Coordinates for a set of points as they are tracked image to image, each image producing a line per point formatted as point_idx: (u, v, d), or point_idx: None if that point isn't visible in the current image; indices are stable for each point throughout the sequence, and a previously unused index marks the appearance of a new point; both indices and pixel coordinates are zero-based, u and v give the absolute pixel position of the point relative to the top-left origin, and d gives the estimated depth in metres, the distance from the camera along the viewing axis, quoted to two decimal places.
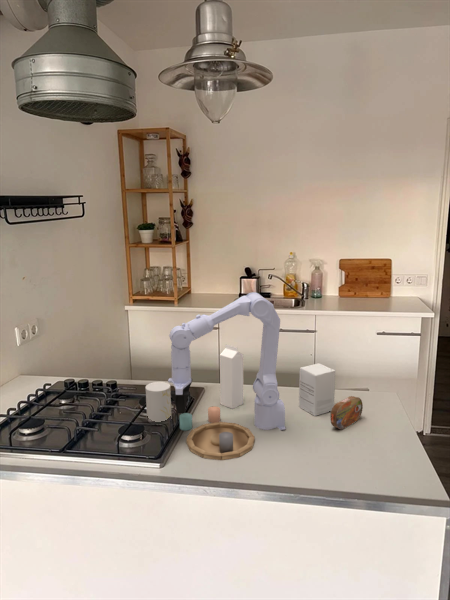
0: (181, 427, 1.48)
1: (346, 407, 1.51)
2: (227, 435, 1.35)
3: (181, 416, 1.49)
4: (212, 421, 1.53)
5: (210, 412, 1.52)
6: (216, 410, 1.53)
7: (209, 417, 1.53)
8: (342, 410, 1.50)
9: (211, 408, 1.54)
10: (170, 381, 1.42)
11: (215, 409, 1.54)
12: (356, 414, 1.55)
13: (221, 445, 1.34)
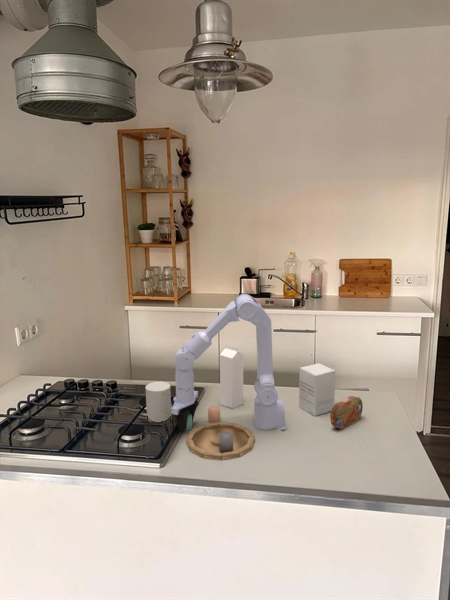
0: None
1: (346, 407, 1.51)
2: (227, 435, 1.35)
3: None
4: (212, 421, 1.53)
5: (210, 412, 1.52)
6: (216, 410, 1.53)
7: (209, 417, 1.53)
8: (342, 410, 1.50)
9: (211, 408, 1.54)
10: (174, 399, 1.48)
11: (215, 409, 1.54)
12: (356, 414, 1.55)
13: (221, 445, 1.34)
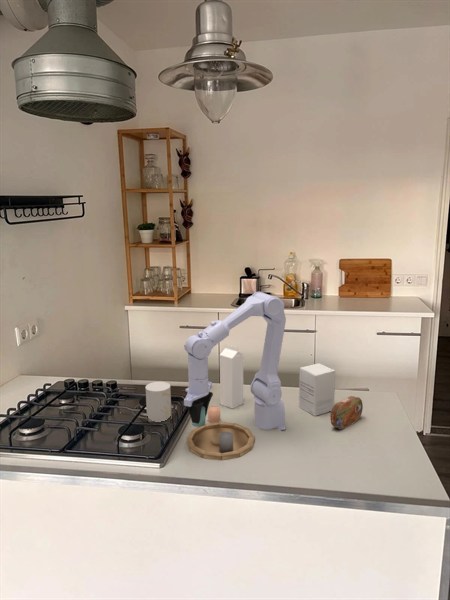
0: None
1: (346, 407, 1.51)
2: (227, 435, 1.35)
3: None
4: (212, 421, 1.53)
5: (210, 412, 1.52)
6: (216, 410, 1.53)
7: (209, 417, 1.53)
8: (342, 410, 1.50)
9: (211, 408, 1.54)
10: (187, 390, 1.38)
11: (215, 409, 1.54)
12: (356, 414, 1.55)
13: (221, 445, 1.34)
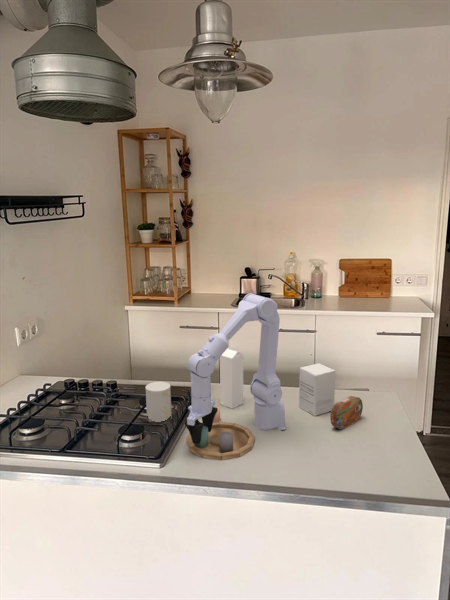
0: None
1: (346, 407, 1.51)
2: (227, 435, 1.35)
3: None
4: None
5: None
6: None
7: None
8: (342, 410, 1.50)
9: None
10: (189, 408, 1.37)
11: None
12: (356, 414, 1.55)
13: (221, 445, 1.34)
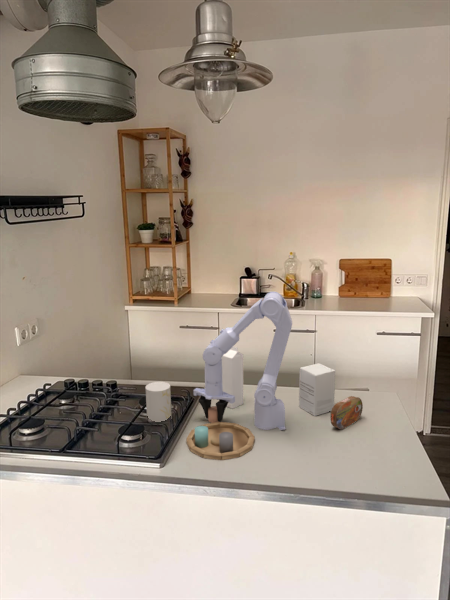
0: (196, 441, 1.38)
1: (346, 407, 1.51)
2: (227, 435, 1.35)
3: (196, 429, 1.38)
4: (212, 421, 1.53)
5: (210, 412, 1.52)
6: (216, 410, 1.53)
7: (209, 417, 1.53)
8: (342, 410, 1.50)
9: (211, 408, 1.54)
10: (211, 398, 1.50)
11: (215, 409, 1.54)
12: (356, 414, 1.55)
13: (221, 445, 1.34)
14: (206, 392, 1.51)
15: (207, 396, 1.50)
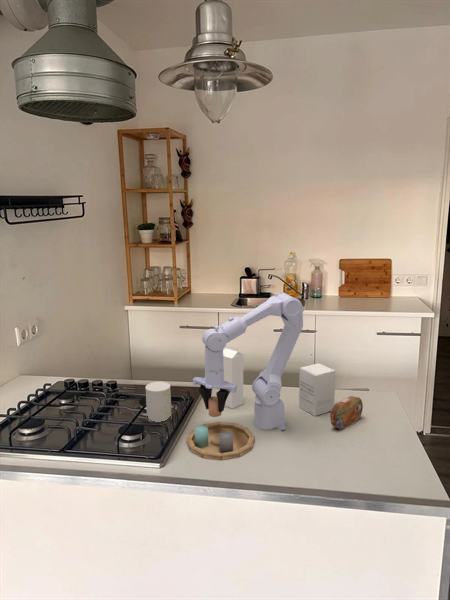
0: (196, 441, 1.38)
1: (346, 407, 1.51)
2: (227, 435, 1.35)
3: (196, 429, 1.38)
4: (213, 412, 1.44)
5: (211, 402, 1.43)
6: (217, 400, 1.44)
7: (210, 408, 1.44)
8: (342, 410, 1.50)
9: (211, 398, 1.45)
10: (212, 387, 1.40)
11: (216, 399, 1.45)
12: (356, 414, 1.55)
13: (221, 445, 1.34)
14: (206, 381, 1.42)
15: (207, 385, 1.41)
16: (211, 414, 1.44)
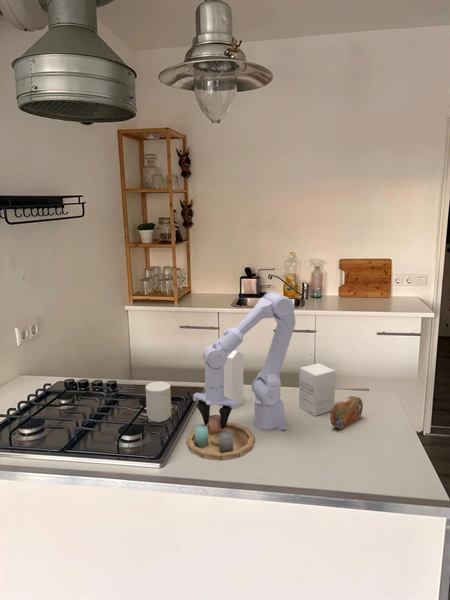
0: (196, 441, 1.38)
1: (346, 407, 1.51)
2: (227, 435, 1.35)
3: (196, 429, 1.38)
4: (213, 431, 1.44)
5: (211, 421, 1.44)
6: (217, 419, 1.44)
7: (210, 426, 1.45)
8: (342, 410, 1.50)
9: (212, 417, 1.46)
10: (212, 403, 1.41)
11: (216, 417, 1.45)
12: (356, 414, 1.55)
13: (221, 445, 1.34)
14: (207, 397, 1.42)
15: (208, 401, 1.41)
16: (211, 433, 1.45)
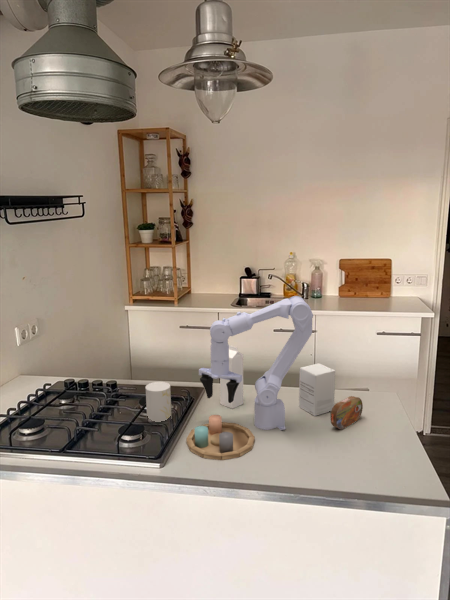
0: (196, 441, 1.38)
1: (346, 407, 1.51)
2: (227, 435, 1.35)
3: (196, 429, 1.38)
4: (213, 431, 1.44)
5: (211, 421, 1.44)
6: (217, 419, 1.44)
7: (210, 426, 1.45)
8: (342, 410, 1.50)
9: (212, 417, 1.46)
10: (217, 377, 1.44)
11: (216, 417, 1.45)
12: (356, 414, 1.55)
13: (221, 445, 1.34)
14: (212, 371, 1.46)
15: (213, 375, 1.45)
16: (211, 433, 1.45)
